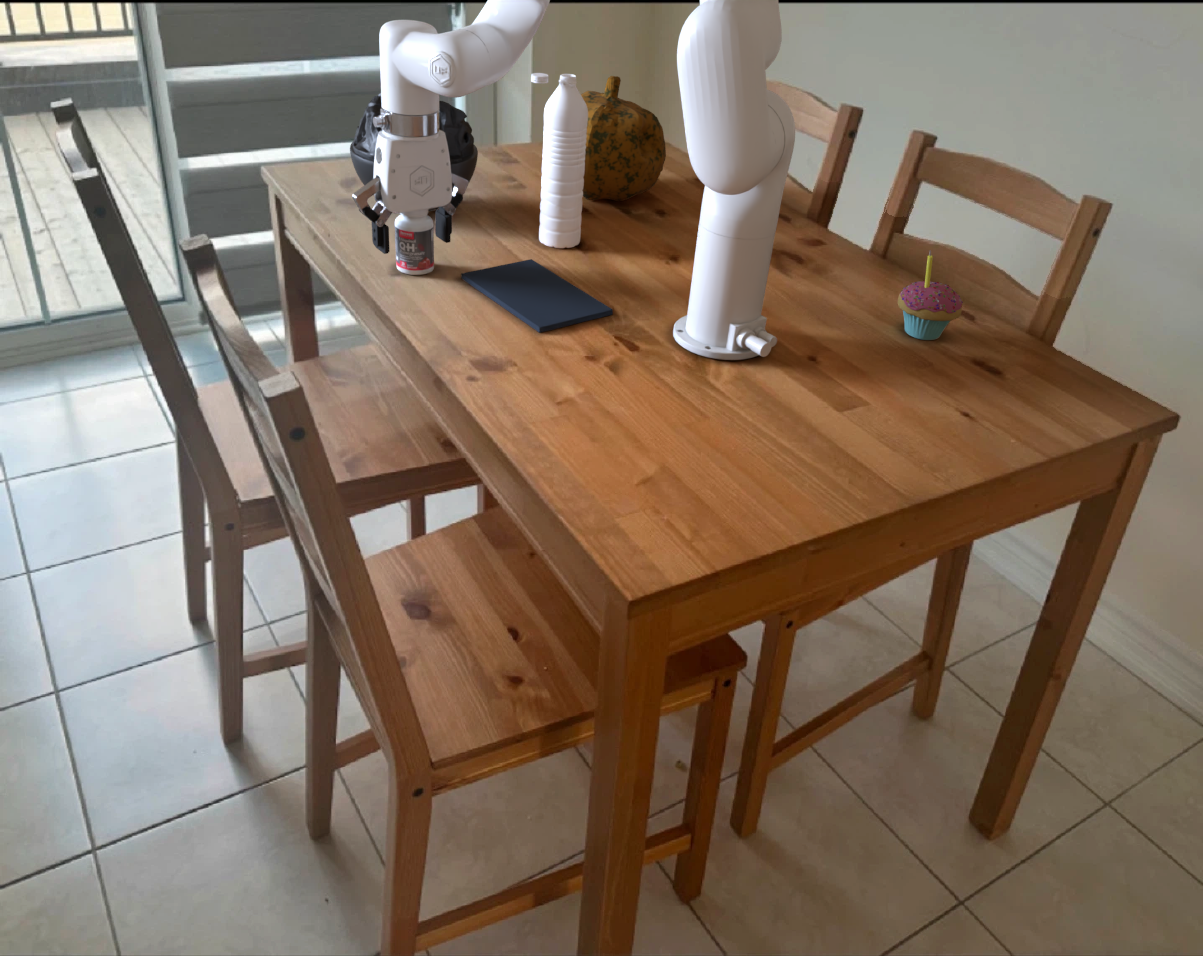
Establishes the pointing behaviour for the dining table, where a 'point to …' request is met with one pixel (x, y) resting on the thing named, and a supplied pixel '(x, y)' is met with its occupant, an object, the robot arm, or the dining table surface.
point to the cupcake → (928, 306)
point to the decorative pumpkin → (620, 146)
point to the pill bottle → (414, 242)
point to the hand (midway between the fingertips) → (413, 244)
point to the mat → (536, 295)
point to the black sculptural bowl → (449, 122)
